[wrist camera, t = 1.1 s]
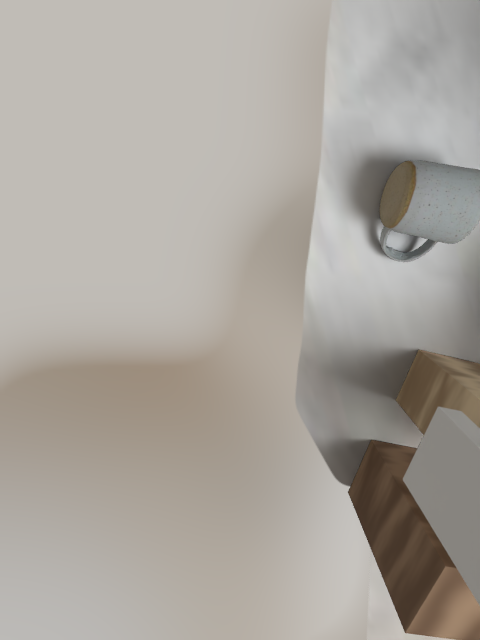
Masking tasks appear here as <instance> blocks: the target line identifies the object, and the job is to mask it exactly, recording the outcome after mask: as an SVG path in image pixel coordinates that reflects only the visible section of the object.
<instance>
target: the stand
mask: <svg viewBox="0 0 480 640" xmlns="http://www.w3.org/2000/svg"><path fill="white" fill-rule="evenodd" d="M396 401H397V402H398V404H399V405H400V406H401V407H402V409H403V410H404V411H405V412H406V414H407V415H408V416H409V417H410V418H411V420H412V421H413V422H414V423H415V425H416V426H417V427H418V428H419V430H420V431H421V432H422V433H423V434H425V432H426V430H427V428H428V426H429V424H430V422H431V420H432V418H433V416H434V414H435V412H436V410H437V408H438V407H443V408H448V409H453V410H458V411H462V412H463V413H464V414H465V415H466V416H467V417H468V418H469V419H470V420H471V421H472V422H474V423H475V424H476V425H477V426H478V427H479V428H480V364H479V363H475V362H471V361H466V360H462V359H458V358H453V357H449V356H445V355H440V354H436V353H432V352H427V351H423V350H418V352H417V354H416V357H415V359H414V361H413V363H412V365H411V368H410V370H409V372H408V374H407V377H406V379H405V381H404V383H403V385H402V388H401V390H400V392H399V394H398V397H397V399H396Z"/></svg>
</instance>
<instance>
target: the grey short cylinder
mask: <svg viewBox="0 0 480 640" xmlns="http://www.w3.org/2000/svg"><path fill="white" fill-rule="evenodd" d="M380 219H381V221H382V223H383V225H384V228H383V229H382V232H381V237H380V243H381V247H382V249H383V251H384V253H385V254H386V255H387V256H388V257H389V258H391V259H393V260H396V261H401V262H409V261H413V260H416V259H418V258H420V257H422V256H423V255H425V254H426V253H427V252H429V251H430V250H431V249H432V248H433V247H434V245H435V244H436V243H437V242H438V241H439V242H443V243H447V244H454V243H457V242H459V241H461V240H463V239H464V238H465V237H466V236H467V235H468V234H470V232H471V231H472V230H473V229H474V228H475V226H476V225H477V223H478V222H479V220H480V170H477V169H470V168H464V167H458V166H452V165H445V164H438V163H433V162H427V161H406V162H403V163H402V164H400V165H399V166H397V167H396V168H395V170H394V171H393V172H392V174H391V175H390V177H389V179H388V180H387V183H386V185H385V188H384V190H383V194H382V197H381V202H380ZM391 230H393V231H396V232H399V233H404V234H409V235H414V236H418V237H422V238H425V239H428V240H427V241H426V242H425V243H424V244H423V245H422V246H421V247H419V248H418V249H416V250H414V251H412V252H408V253H407V252H406V253H403V252H400V251H396V250H394V249H392V248H391V247H386V240H387V237H388V235H389V232H390V231H391Z"/></svg>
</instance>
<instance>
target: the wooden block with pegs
mask: <svg viewBox="0 0 480 640" xmlns="http://www.w3.org/2000/svg"><path fill="white" fill-rule="evenodd" d="M416 451H417V448H411V447H406V446H401V445H396V444H391V443H386V442H381V441H376V440H371V442H370V444H369V446H368V448H367V451H366V453H365V455H364V457H363V460H362V462H361V464H360V466H359V469H358V471H357V473H356V475H355V478H354V480H353V482H352V484H351V487H350V489H349V491H348V493H349V496H350V498H351V501H352V503H353V506H354V508H355V510H356V513H357V515H358V518H359V520H360V523H361V525H362V528H363V530H364V533H365V535H366V537H367V540H368V542H369V545H370V547H371V550H372V552H373V555H374V557H375V560H376V562H377V565H378V567H379V570H380V572H381V574H382V577H383V579H384V582H385V584H386V587H387V589H388V592H389V594H390V597H391V599H392V602H393V604H394V606H395V609H396V611H397V614H398V616H399V619H400V621H401V624H402V626H403V629H404V631H405V633H409V634H417V635H425V636H433V637H440V638H448V639H456V640H480V606H479V604H478V602H477V601H476V599H475V597H474V596H473V594H472V592H471V591H470V589H469V588H468V586H467V584H466V583H465V581H464V579H463V578H462V576H461V574H460V573H459V571H458V570H457V568H456V566H455V565H454V563H453V561H452V560H451V558H450V556H449V555H448V553H447V551H446V550H445V548H444V547H443V545H442V543H441V542H440V540H439V538H438V537H437V535H436V533H435V532H434V530H433V529H432V527H431V525H430V524H429V522H428V520H427V519H426V517H425V515H424V514H423V512H422V511H421V509H420V507H419V506H418V504H417V502H416V501H415V499H414V497H413V496H412V494H411V492H410V491H409V489H408V488H407V486H406V484H405V483H404V481H403V477H404V475H405V473H406V471H407V469H408V467H409V465H410V463H411V461H412V459H413V457H414V455H415V453H416Z"/></svg>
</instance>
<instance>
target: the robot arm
mask: <svg viewBox="0 0 480 640" xmlns="http://www.w3.org/2000/svg"><path fill="white" fill-rule="evenodd" d="M403 481H404V483H405V484H406V486H407V488H408V489H409V491H410V492H411V494H412V496H413V497H414V499H415V501H416V502H417V504H418V506H419V507H420V509H421V511H422V512H423V514H424V515H425V517H426V519H427V520H428V522H429V524H430V525H431V527H432V529H433V530H434V532H435V533H436V535H437V537H438V538H439V540H440V542H441V543H442V545H443V547H444V548H445V550H446V551H447V553H448V555H449V556H450V558H451V560H452V561H453V563H454V565H455V566H456V568H457V570H458V571H459V573H460V574H461V576H462V578H463V579H464V581H465V583H466V584H467V586H468V588H469V589H470V591H471V592H472V594H473V596H474V597H475V599H476V601H477V602H478V604H479V606H480V428H479V427H478V426H477V425H476V424H475V423H474V422H472V421H471V420H470V419H469V418H468V417H467V416H466V415H465V414H464V413H463V412H462V411H458V410H453V409H448V408H443V407H438V408H437V410H436V412H435V414H434V416H433V418H432V420H431V422H430V424H429V426H428V428H427V430H426V432H425V434H424V436H423V438H422V440H421V442H420V445H419V447H418V449H417V451H416V453H415V455H414V457H413V459H412V461H411V463H410V465H409V467H408V469H407V471H406V473H405V475H404V477H403Z"/></svg>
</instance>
